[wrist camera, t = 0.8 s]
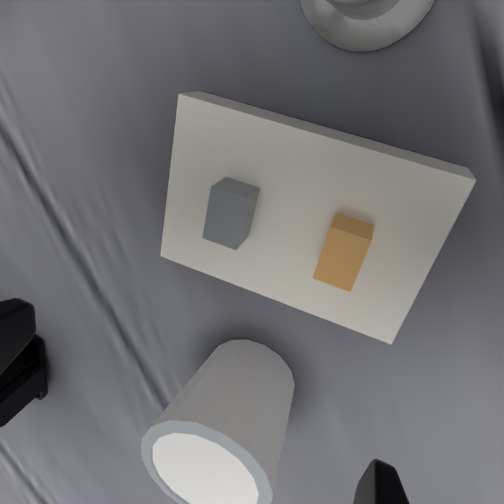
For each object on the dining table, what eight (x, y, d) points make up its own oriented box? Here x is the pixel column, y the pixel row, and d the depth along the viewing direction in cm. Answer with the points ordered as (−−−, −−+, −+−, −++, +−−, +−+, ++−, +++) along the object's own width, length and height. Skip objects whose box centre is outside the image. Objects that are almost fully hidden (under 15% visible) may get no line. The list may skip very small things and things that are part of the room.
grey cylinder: (194, 322, 24) (126, 408, 18) (305, 340, 22) (269, 443, 16) (206, 406, 27) (151, 503, 21) (305, 428, 25) (275, 544, 19)
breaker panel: (178, 241, 22) (142, 270, 19) (199, 90, 18) (158, 96, 15) (392, 320, 20) (390, 367, 17) (468, 167, 16) (484, 193, 13)
